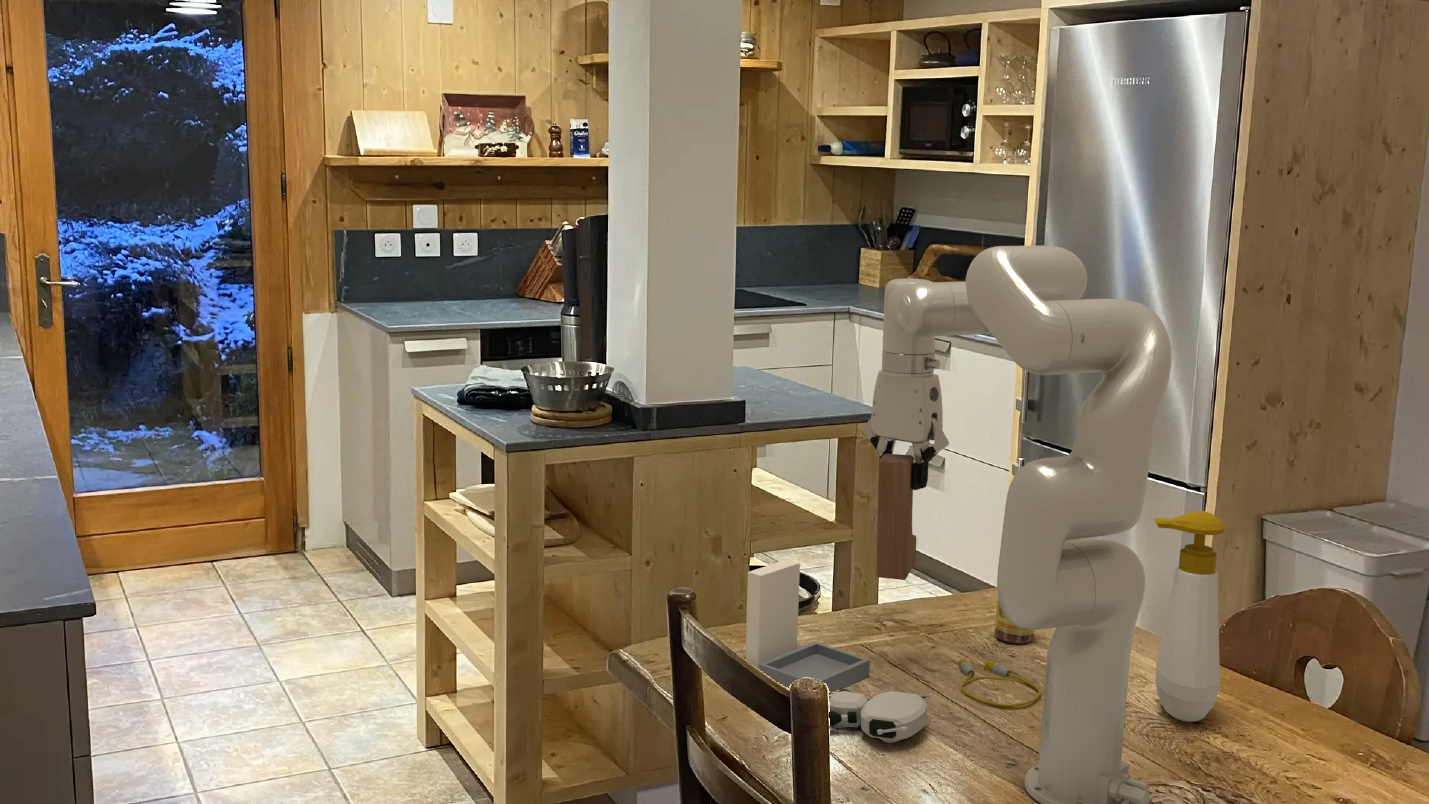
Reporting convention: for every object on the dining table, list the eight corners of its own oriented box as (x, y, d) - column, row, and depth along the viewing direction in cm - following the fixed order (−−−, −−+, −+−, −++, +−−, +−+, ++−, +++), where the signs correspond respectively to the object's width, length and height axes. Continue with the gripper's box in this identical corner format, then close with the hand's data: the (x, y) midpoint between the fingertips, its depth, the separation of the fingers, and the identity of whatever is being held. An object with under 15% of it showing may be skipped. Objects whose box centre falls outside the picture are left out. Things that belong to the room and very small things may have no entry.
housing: (869, 676, 198) (873, 578, 196) (813, 700, 189) (817, 599, 186) (786, 647, 209) (789, 555, 206) (730, 669, 200) (732, 573, 197)
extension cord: (1040, 674, 202) (1041, 662, 201) (1041, 716, 187) (1042, 703, 186) (958, 666, 204) (959, 654, 204) (952, 707, 189) (953, 693, 189)
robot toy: (802, 742, 178) (911, 757, 172) (801, 709, 178) (910, 723, 171) (834, 708, 189) (938, 721, 183) (833, 678, 188) (937, 690, 182)
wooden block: (887, 560, 207) (889, 446, 203) (916, 563, 205) (919, 448, 202) (875, 578, 198) (878, 459, 195) (905, 581, 197) (909, 461, 194)
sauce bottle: (992, 643, 213) (999, 522, 209) (996, 630, 219) (1003, 512, 215) (1034, 648, 211) (1043, 526, 207) (1037, 634, 217) (1045, 516, 213)
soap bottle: (1132, 691, 195) (1148, 497, 190) (1207, 697, 193) (1225, 501, 188) (1143, 727, 182) (1160, 520, 177) (1223, 735, 181) (1243, 526, 175)
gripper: (971, 368, 193) (965, 491, 196) (875, 355, 204) (871, 471, 208) (942, 373, 188) (936, 499, 191) (845, 359, 199) (841, 479, 202)
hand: (902, 483), depth 199 cm, fingers closed on wooden block, 5 cm apart
